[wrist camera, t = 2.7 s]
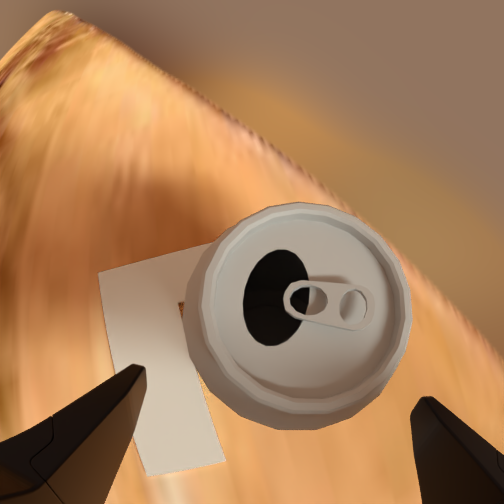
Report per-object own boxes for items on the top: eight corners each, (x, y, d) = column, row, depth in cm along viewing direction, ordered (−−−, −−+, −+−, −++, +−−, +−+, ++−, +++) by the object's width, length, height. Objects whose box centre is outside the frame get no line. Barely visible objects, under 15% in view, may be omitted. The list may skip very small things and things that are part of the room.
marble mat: (148, 475, 15) (147, 476, 15) (99, 274, 20) (97, 272, 20) (360, 411, 18) (362, 411, 18) (289, 224, 23) (290, 222, 23)
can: (222, 281, 21) (218, 158, 10) (333, 307, 21) (432, 216, 10) (192, 393, 18) (137, 399, 7) (311, 419, 17) (416, 447, 7)
